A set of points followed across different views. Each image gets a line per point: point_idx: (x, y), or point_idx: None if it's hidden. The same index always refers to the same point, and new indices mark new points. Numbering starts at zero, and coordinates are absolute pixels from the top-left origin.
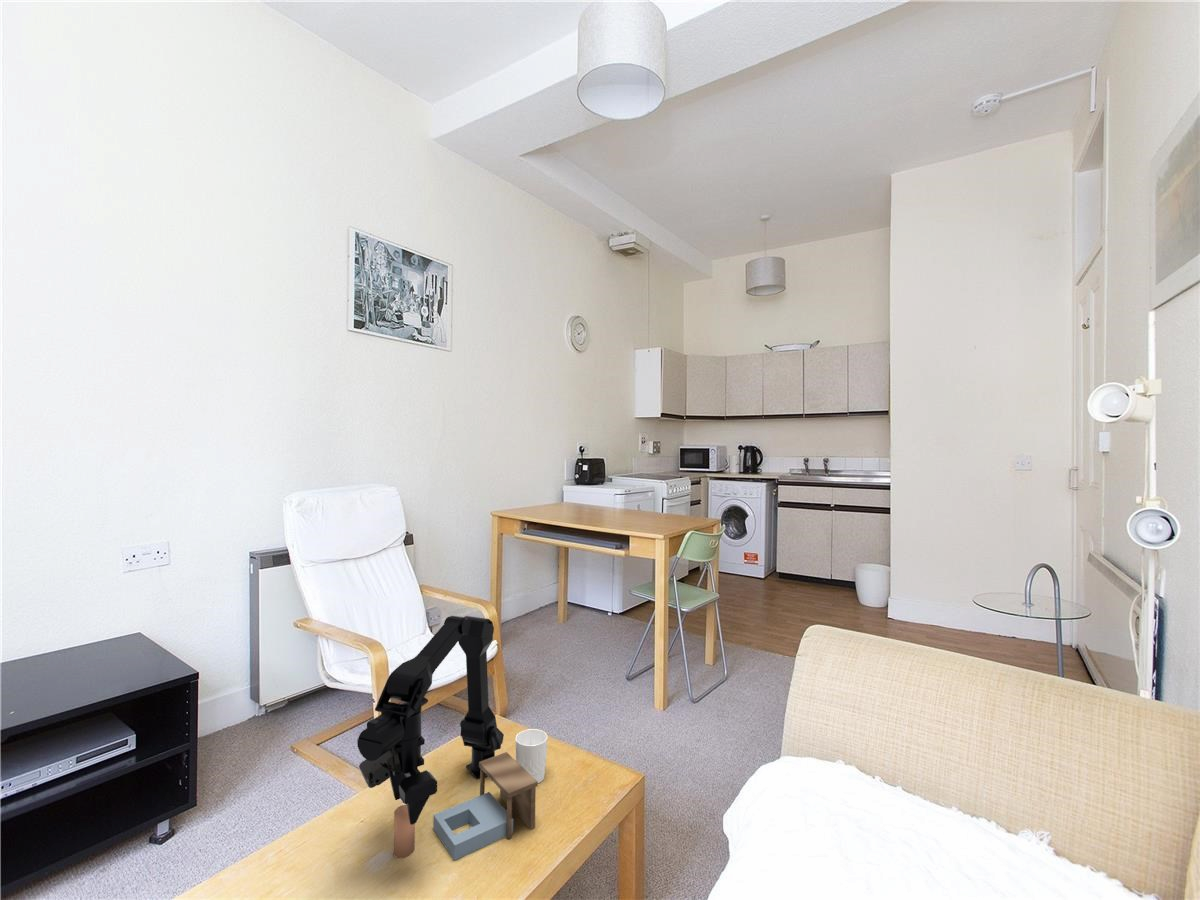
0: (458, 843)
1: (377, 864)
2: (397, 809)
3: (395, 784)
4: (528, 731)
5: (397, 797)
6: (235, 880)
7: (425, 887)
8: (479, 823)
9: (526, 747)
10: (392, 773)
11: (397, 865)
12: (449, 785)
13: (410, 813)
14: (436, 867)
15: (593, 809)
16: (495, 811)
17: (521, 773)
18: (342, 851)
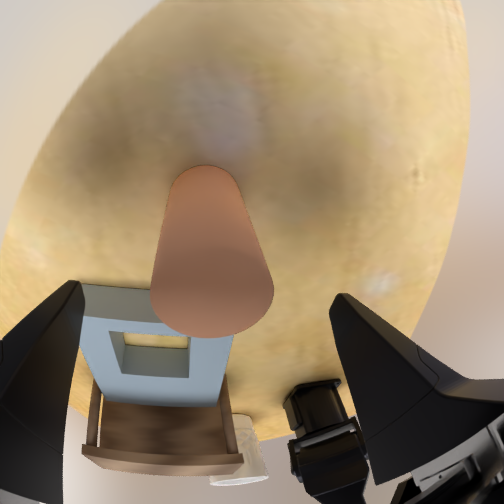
0: None
1: (208, 104)
2: (256, 277)
3: (381, 360)
4: (262, 477)
5: (338, 308)
6: None
7: (28, 193)
8: (126, 371)
9: (222, 477)
10: (432, 410)
11: (152, 155)
12: (330, 353)
13: (12, 334)
14: (77, 242)
15: None
16: (144, 397)
17: (141, 472)
18: (359, 63)
